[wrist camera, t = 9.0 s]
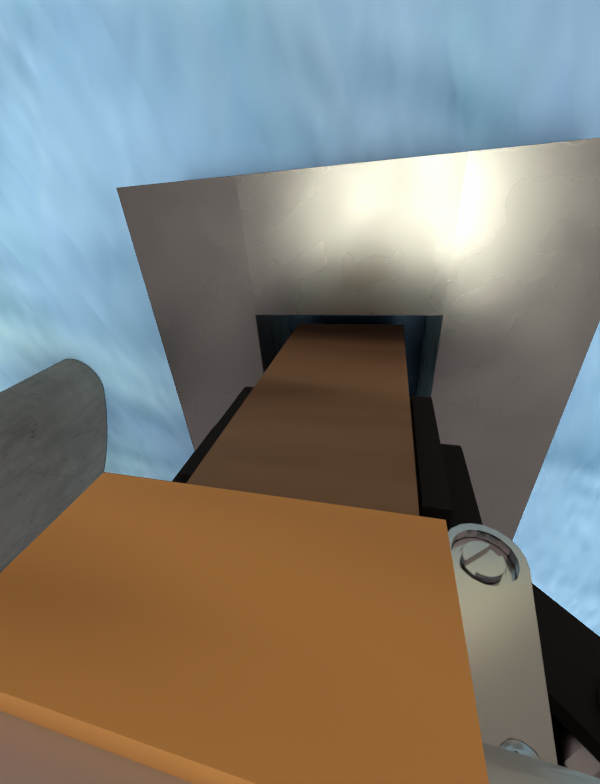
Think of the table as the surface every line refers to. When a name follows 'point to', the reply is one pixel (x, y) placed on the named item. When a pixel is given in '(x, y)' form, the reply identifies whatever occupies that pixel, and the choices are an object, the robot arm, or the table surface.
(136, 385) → the table surface
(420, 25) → the table surface
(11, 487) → the hip flask
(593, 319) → the collar
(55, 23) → the table surface
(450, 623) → the wooden peg block
